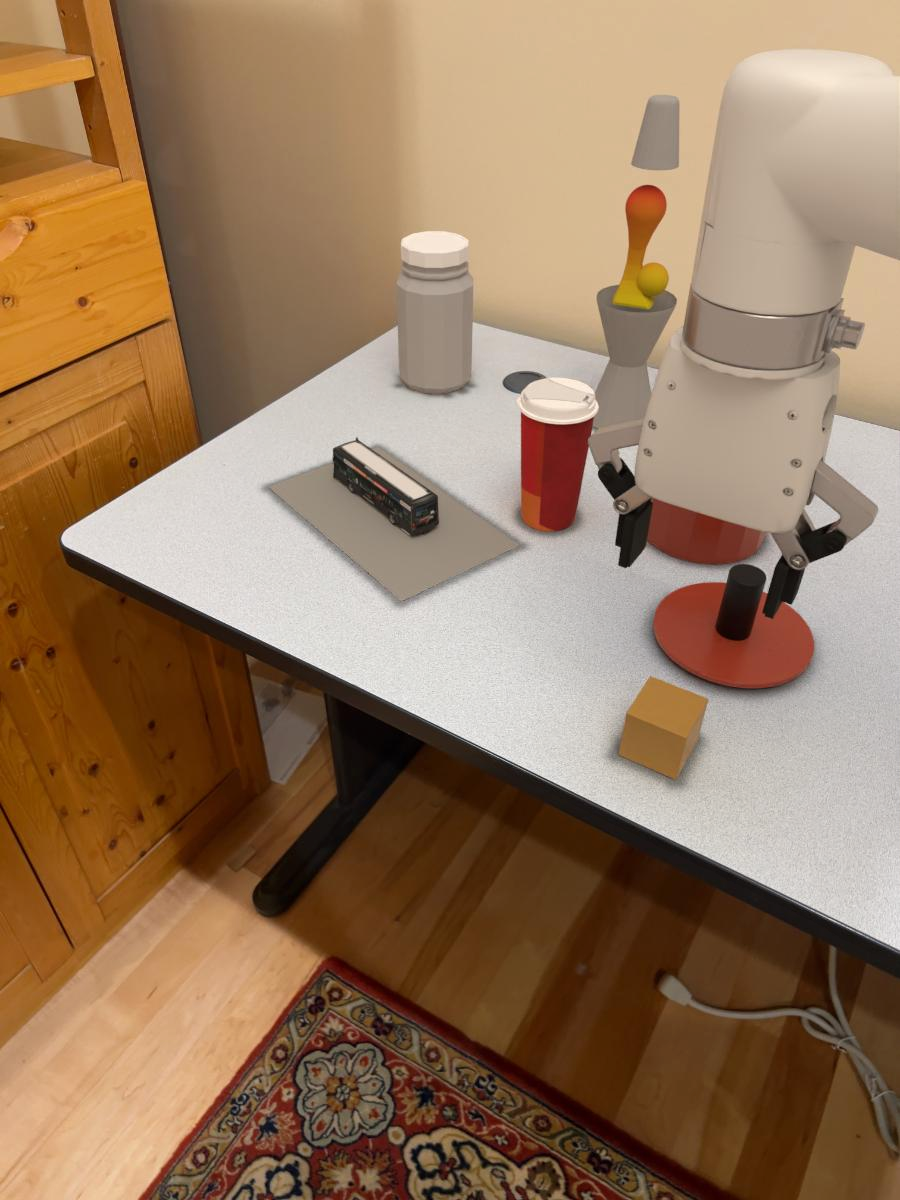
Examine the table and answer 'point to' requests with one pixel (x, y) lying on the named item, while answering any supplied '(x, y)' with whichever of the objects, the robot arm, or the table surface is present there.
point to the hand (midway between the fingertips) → (700, 580)
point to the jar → (435, 312)
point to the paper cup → (554, 449)
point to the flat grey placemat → (391, 519)
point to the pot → (700, 536)
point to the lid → (733, 632)
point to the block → (662, 727)
